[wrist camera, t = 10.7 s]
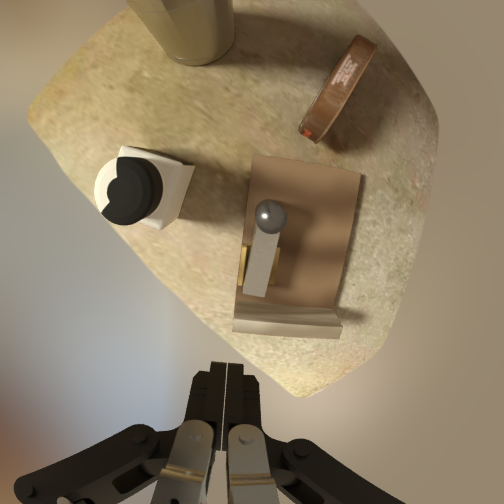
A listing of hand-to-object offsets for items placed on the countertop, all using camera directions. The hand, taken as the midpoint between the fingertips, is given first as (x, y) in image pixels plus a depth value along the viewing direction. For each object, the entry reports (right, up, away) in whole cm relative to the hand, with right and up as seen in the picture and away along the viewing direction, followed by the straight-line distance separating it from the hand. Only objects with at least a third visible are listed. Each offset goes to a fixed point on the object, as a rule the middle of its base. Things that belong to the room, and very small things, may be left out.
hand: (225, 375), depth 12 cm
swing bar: (+2, +7, +21) cm, 22 cm away
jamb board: (+7, +7, +23) cm, 25 cm away
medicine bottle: (-10, +14, +20) cm, 27 cm away
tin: (+11, +25, +17) cm, 33 cm away
